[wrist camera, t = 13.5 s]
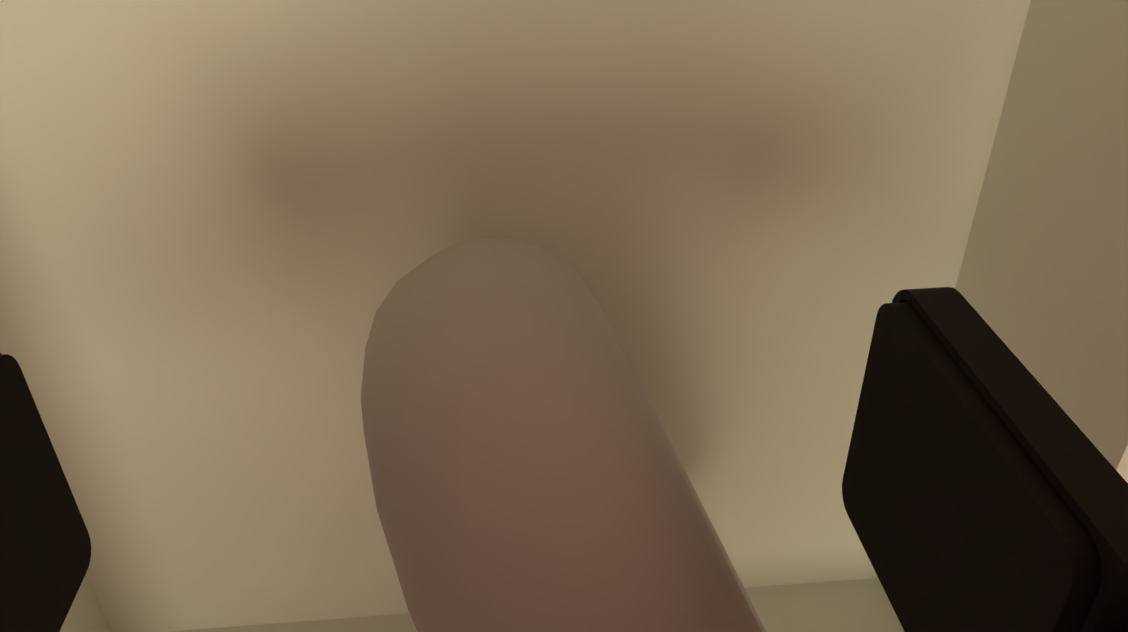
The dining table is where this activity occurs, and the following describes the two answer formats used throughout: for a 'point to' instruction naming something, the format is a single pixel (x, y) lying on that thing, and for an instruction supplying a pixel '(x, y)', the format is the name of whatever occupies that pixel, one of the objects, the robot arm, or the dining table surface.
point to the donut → (530, 460)
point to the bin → (543, 218)
